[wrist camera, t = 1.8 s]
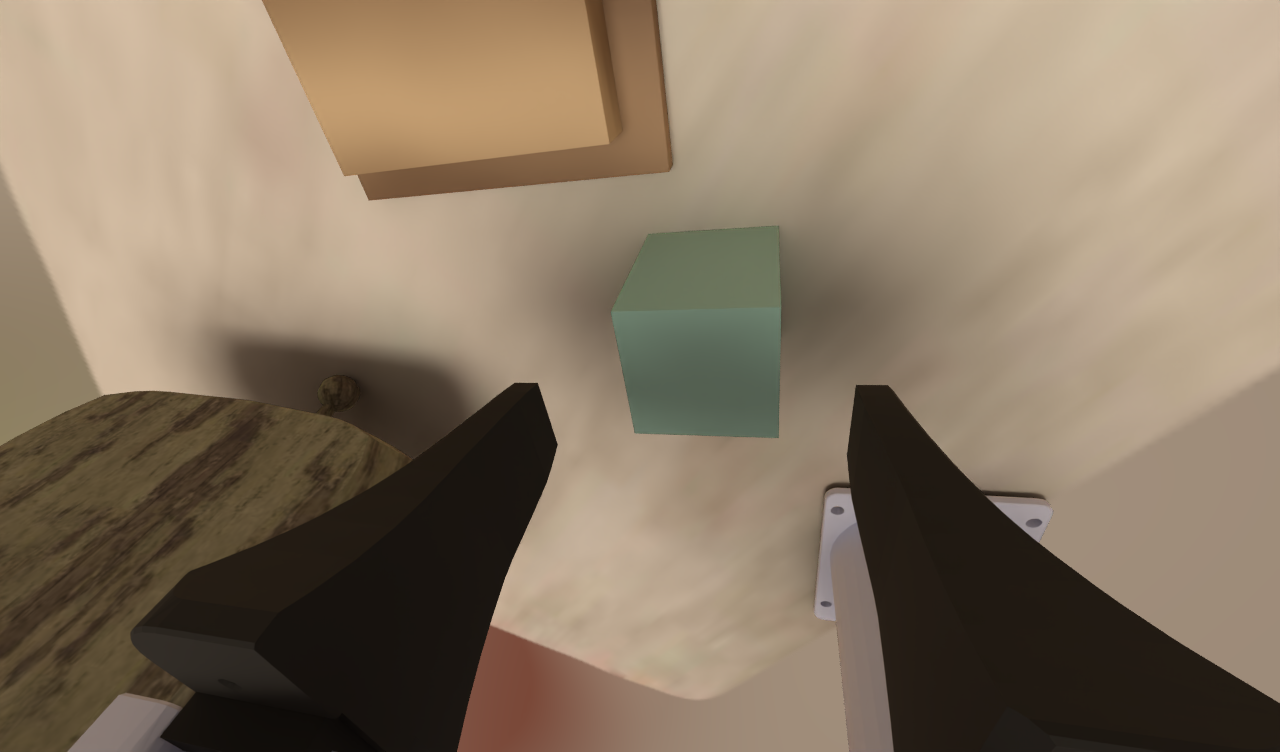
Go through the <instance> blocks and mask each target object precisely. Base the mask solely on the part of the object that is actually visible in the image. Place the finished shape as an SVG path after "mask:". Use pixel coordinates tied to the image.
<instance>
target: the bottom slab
mask: <svg viewBox="0 0 1280 752" xmlns="http://www.w3.org/2000/svg"><path fill="white" fill-rule="evenodd" d="M602 3H603V9H604V16H605V22H606V28H607V35H608V41H609V47H610V54H611V60H612V66H613V73H614V79H615V85H616V92H617V98H618V105H619V111H620V117H621V124H622V130H623V131H622V132H621V133H620V134H619V135H618V136H617V137H616V138H615V139H614V140H613V141H612V142H611V143H610V144H605V145H597V146H589V147H581V148H572V149H564V150H556V151H548V152H539V153H531V154H523V155H515V156H506V157H498V158H490V159H482V160H473V161H465V162H457V163H449V164H440V165H432V166H424V167H416V168H407V169H399V170H391V171H383V172H374V173H366V174H358V177H359V179H360V182H361V184H362V186H363V188H364V191H365V193H366V195H367V197H368V200H379V199H389V198H400V197H410V196H421V195H431V194H442V193H452V192H462V191H473V190H483V189H494V188H504V187H515V186H525V185H535V184H546V183H556V182H567V181H577V180H588V179H598V178H608V177H619V176H629V175H640V174H650V173H661V172H669V171H670V169H671V167H672V165H673V162H672V152H671V142H670V133H669V123H668V113H667V103H666V93H665V84H664V74H663V64H662V54H661V44H660V34H659V25H658V15H657V5H656V0H602Z"/></svg>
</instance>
